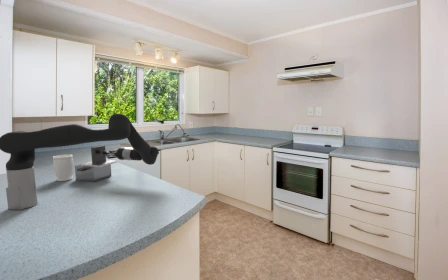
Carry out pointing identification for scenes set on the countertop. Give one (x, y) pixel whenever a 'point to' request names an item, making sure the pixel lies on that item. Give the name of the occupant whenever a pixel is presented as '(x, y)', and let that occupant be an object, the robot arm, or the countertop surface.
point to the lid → (98, 158)
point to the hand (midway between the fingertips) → (103, 152)
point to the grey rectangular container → (92, 173)
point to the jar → (63, 167)
